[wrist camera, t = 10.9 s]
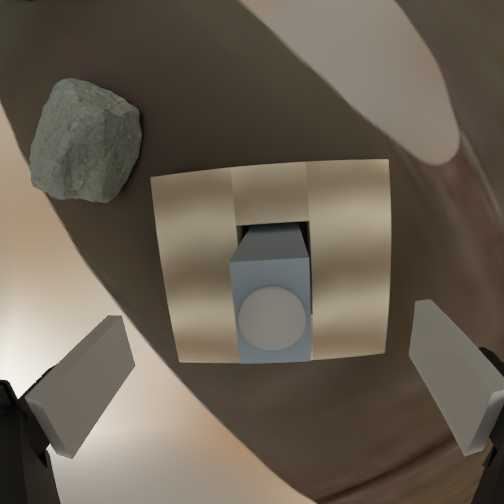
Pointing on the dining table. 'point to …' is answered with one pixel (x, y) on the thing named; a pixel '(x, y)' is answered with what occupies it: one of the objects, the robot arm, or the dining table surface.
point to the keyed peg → (272, 295)
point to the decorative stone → (84, 142)
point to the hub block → (276, 211)
